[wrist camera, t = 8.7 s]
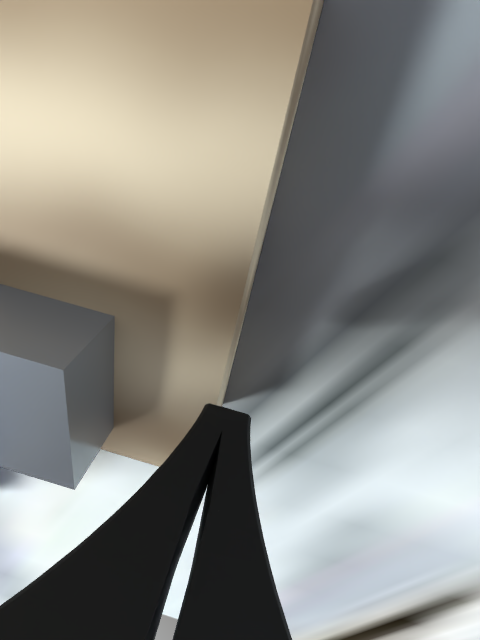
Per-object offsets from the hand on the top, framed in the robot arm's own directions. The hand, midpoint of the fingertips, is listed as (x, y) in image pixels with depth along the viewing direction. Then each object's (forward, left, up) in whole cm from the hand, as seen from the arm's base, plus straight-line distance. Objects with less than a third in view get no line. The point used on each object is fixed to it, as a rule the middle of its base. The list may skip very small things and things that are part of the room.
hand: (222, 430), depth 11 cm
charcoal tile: (0, +6, -1) cm, 6 cm away
